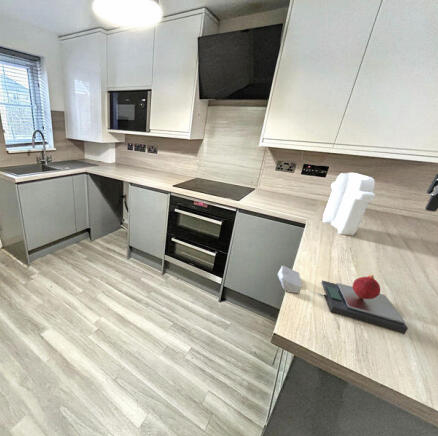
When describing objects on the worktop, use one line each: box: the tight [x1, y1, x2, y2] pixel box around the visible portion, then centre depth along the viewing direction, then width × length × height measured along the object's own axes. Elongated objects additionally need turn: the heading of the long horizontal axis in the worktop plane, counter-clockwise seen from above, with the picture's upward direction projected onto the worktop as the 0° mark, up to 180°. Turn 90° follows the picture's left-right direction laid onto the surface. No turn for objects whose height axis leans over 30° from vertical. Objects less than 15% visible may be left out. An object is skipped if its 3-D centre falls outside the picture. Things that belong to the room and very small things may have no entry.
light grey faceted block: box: [277, 265, 302, 294], centre depth 77 cm, size 10×6×6 cm, turn 149°
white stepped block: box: [322, 172, 376, 236], centre depth 125 cm, size 27×11×30 cm, turn 168°
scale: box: [321, 280, 409, 335], centre depth 69 cm, size 16×14×2 cm
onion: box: [352, 274, 381, 299], centre depth 67 cm, size 6×6×8 cm
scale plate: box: [335, 282, 406, 325], centre depth 68 cm, size 12×12×1 cm
